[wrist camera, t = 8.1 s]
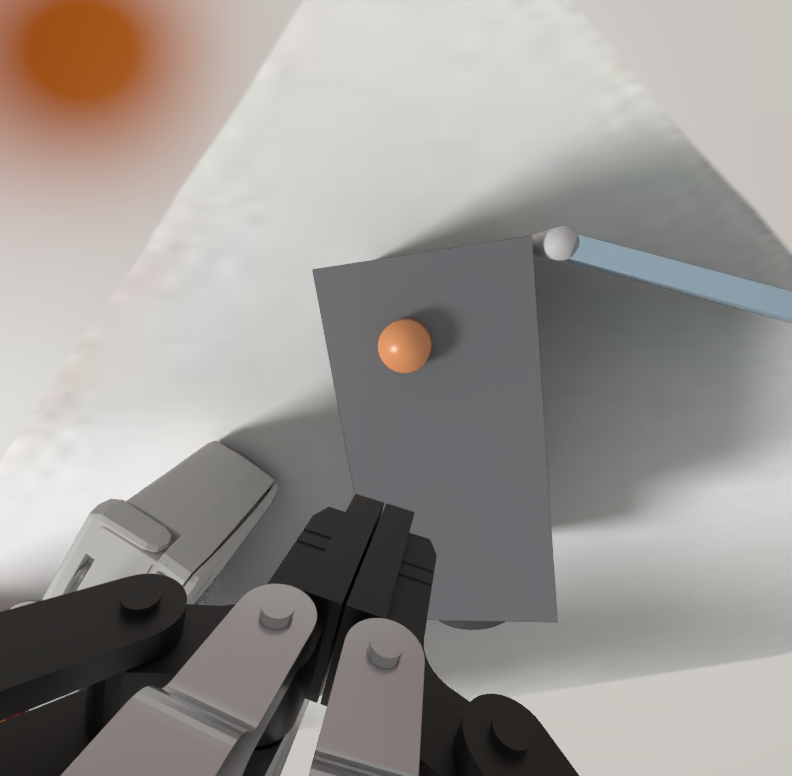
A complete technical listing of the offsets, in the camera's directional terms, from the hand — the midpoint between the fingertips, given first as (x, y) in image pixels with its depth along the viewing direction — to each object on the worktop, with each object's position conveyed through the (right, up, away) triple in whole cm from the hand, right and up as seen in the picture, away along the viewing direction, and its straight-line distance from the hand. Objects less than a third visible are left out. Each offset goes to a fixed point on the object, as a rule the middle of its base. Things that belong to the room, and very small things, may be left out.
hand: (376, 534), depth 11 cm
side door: (+17, +11, +18) cm, 27 cm away
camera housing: (+5, +2, +24) cm, 24 cm away
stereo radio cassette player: (-18, -10, +32) cm, 38 cm away
